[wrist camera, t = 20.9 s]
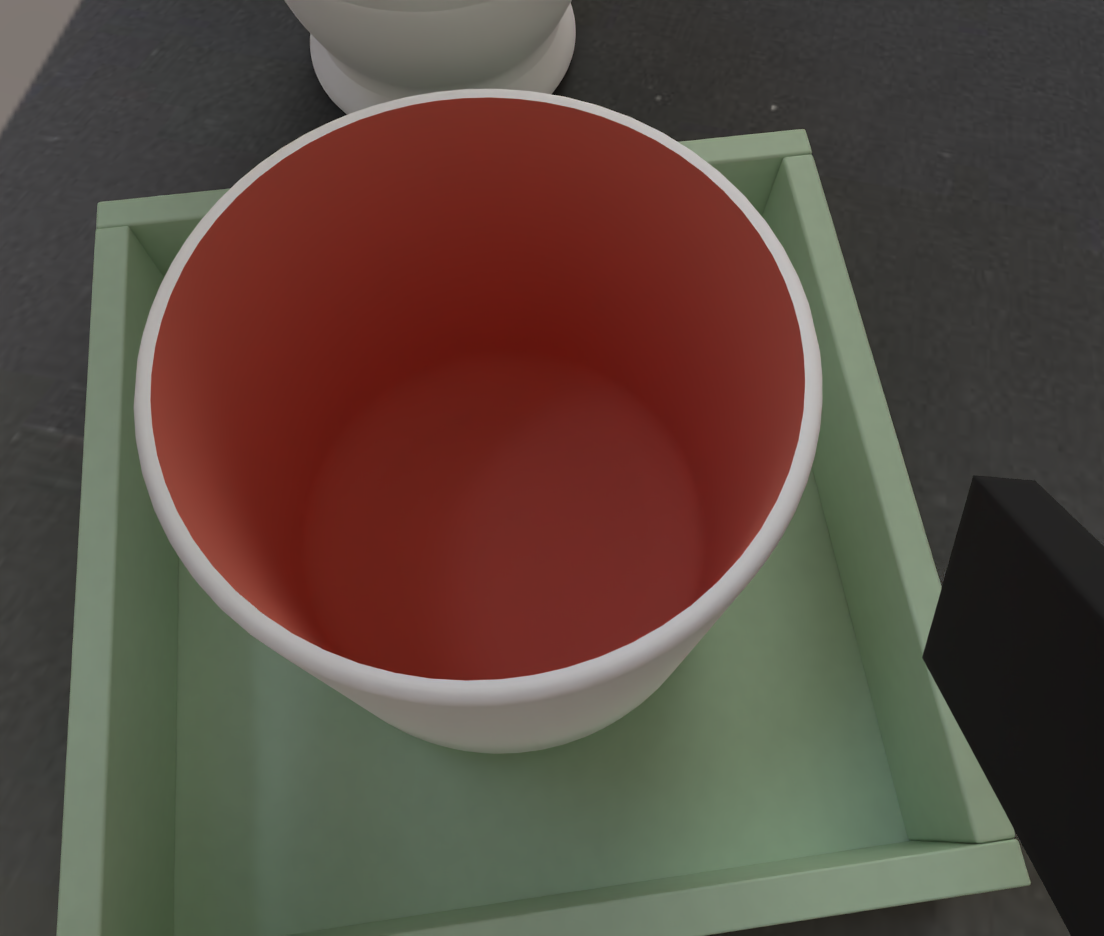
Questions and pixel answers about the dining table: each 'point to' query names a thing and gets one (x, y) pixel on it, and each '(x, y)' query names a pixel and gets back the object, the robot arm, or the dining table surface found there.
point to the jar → (435, 46)
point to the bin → (537, 776)
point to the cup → (480, 410)
